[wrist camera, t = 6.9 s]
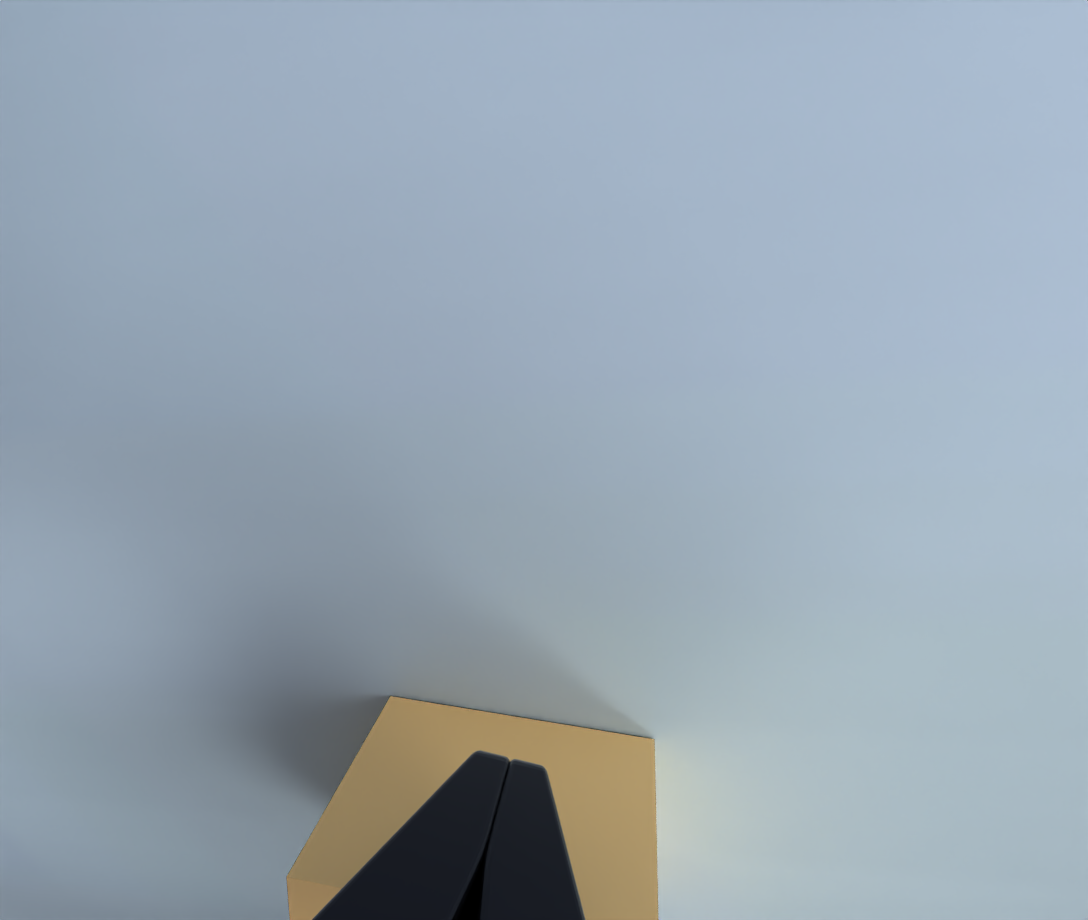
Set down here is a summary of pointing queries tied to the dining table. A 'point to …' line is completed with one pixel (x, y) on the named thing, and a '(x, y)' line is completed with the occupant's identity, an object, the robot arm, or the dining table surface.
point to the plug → (564, 751)
